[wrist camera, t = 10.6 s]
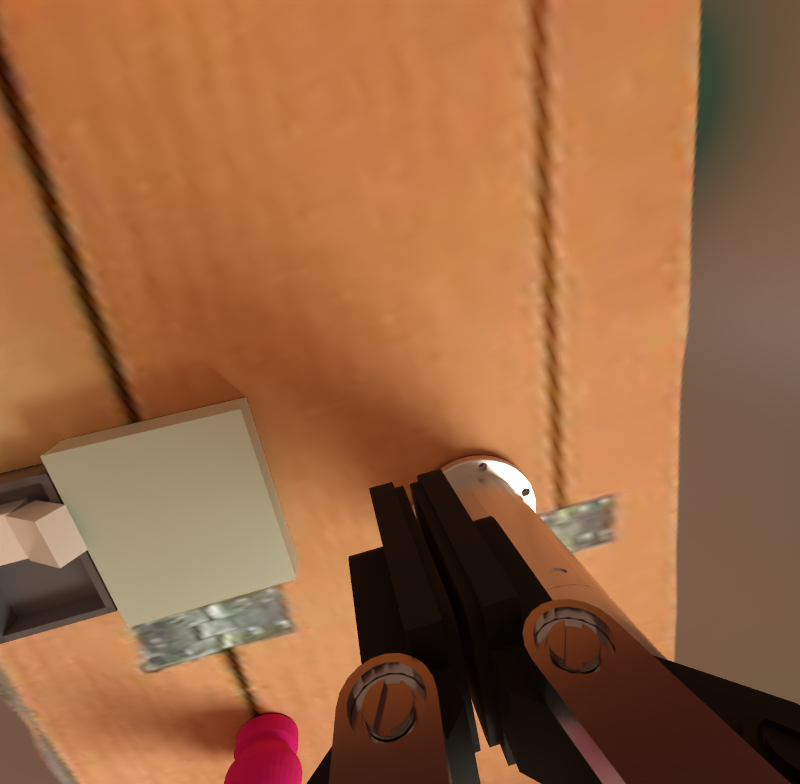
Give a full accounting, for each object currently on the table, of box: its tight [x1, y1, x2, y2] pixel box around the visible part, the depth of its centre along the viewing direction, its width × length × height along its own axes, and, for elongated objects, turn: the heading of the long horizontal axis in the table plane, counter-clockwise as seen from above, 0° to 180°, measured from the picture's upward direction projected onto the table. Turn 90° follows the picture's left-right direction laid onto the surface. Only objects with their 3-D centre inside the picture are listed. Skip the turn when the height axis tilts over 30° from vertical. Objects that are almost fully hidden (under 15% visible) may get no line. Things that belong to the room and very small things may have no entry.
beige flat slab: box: [40, 397, 297, 628], centre depth 36 cm, size 14×16×3 cm
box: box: [0, 464, 117, 644], centre depth 34 cm, size 9×13×2 cm
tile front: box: [5, 500, 88, 568], centre depth 32 cm, size 4×4×2 cm
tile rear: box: [0, 498, 29, 566], centre depth 33 cm, size 4×4×2 cm
